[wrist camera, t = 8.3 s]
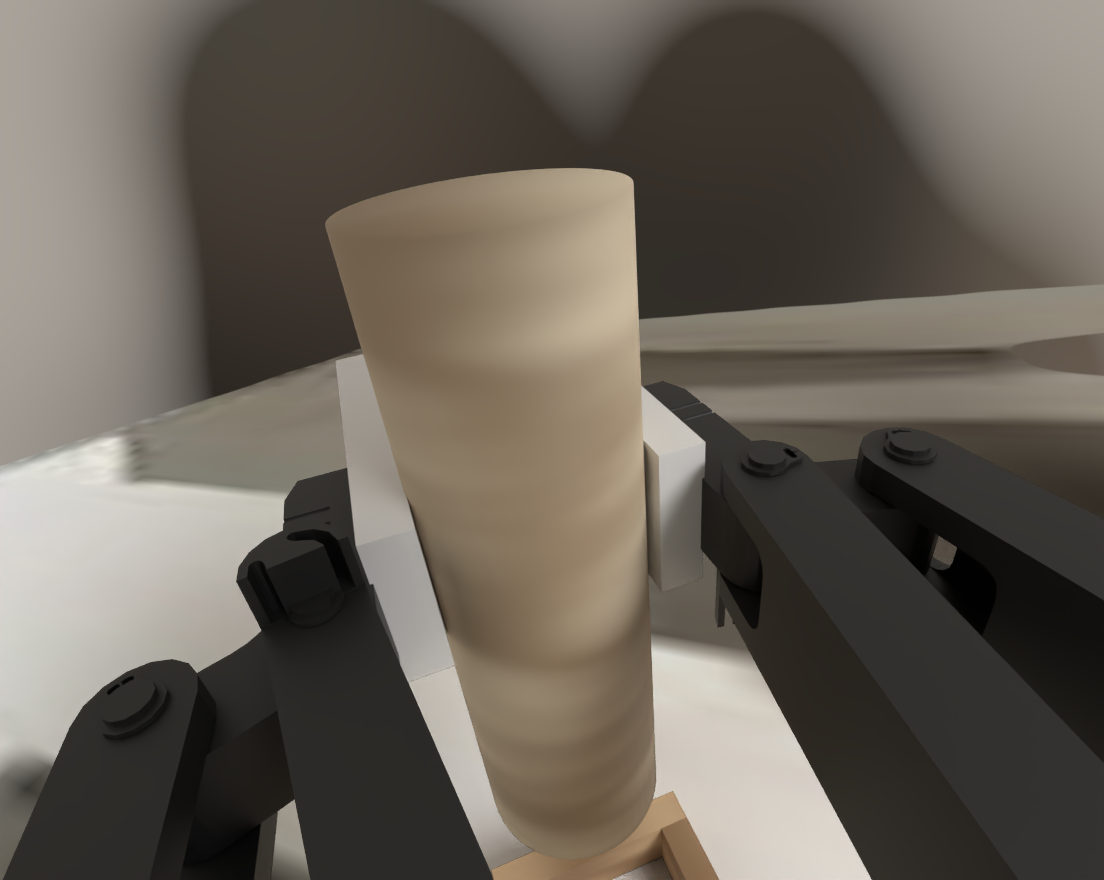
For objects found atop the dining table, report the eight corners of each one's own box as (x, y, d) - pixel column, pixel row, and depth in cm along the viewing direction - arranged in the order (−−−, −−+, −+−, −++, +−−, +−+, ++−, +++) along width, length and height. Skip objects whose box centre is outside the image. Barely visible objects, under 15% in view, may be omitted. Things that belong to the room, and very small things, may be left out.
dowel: (614, 677, 15) (568, 159, 9) (687, 815, 12) (694, 192, 6) (475, 729, 15) (321, 201, 8) (518, 891, 12) (331, 262, 5)
